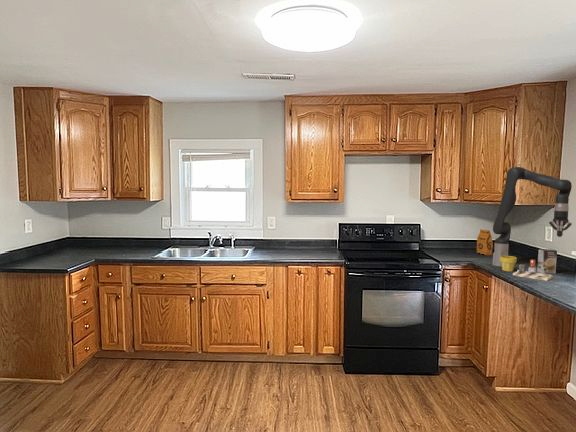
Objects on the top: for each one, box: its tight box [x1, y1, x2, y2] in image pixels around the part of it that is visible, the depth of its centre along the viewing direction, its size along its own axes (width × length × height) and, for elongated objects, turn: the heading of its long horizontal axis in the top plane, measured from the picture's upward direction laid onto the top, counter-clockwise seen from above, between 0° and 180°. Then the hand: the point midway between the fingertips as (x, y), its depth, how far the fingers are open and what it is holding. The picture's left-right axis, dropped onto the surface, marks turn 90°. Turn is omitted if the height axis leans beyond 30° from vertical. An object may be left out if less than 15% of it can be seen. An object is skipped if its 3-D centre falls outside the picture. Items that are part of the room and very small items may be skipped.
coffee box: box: [536, 248, 558, 274], centre depth 271 cm, size 9×6×16 cm
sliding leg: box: [527, 259, 537, 274], centre depth 259 cm, size 4×8×9 cm, turn 131°
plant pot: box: [500, 255, 518, 272], centre depth 277 cm, size 10×10×10 cm
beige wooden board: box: [512, 263, 554, 282], centre depth 258 cm, size 20×12×6 cm, turn 41°
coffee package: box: [476, 229, 494, 256], centre depth 343 cm, size 10×12×22 cm
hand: (559, 236), depth 255 cm, fingers closed
